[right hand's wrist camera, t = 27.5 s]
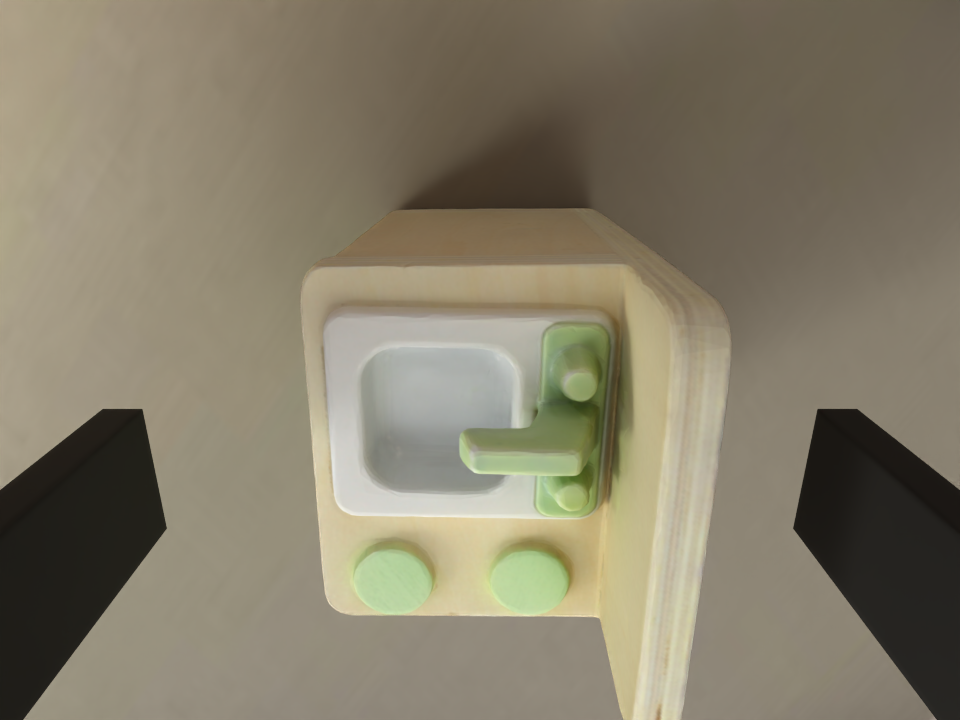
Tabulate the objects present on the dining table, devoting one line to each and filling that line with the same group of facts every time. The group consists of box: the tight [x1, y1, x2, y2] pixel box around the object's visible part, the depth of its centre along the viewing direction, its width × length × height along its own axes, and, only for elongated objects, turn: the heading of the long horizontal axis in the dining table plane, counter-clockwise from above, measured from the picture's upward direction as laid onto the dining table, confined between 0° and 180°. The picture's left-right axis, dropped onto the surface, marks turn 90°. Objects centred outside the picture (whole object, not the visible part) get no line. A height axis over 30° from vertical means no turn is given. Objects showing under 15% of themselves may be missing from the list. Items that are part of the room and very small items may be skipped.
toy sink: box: [300, 208, 732, 720], centre depth 17 cm, size 8×7×13 cm
